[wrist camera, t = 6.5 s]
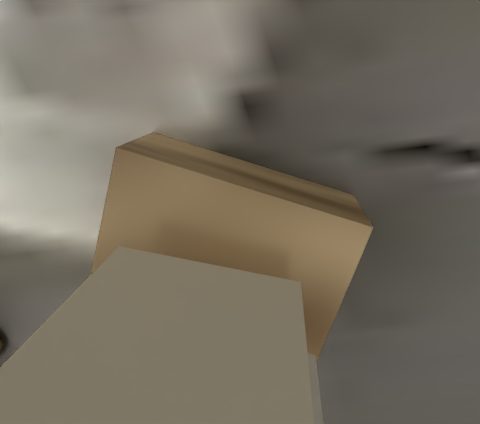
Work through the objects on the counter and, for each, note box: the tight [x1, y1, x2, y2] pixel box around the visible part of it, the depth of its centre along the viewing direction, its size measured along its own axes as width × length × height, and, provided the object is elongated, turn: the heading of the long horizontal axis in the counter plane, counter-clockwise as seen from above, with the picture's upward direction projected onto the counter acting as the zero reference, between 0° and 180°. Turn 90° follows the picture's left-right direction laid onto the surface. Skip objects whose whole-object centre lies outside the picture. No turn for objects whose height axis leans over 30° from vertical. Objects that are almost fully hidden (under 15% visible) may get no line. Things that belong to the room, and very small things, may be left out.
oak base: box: [91, 133, 373, 362], centre depth 20 cm, size 10×10×5 cm
